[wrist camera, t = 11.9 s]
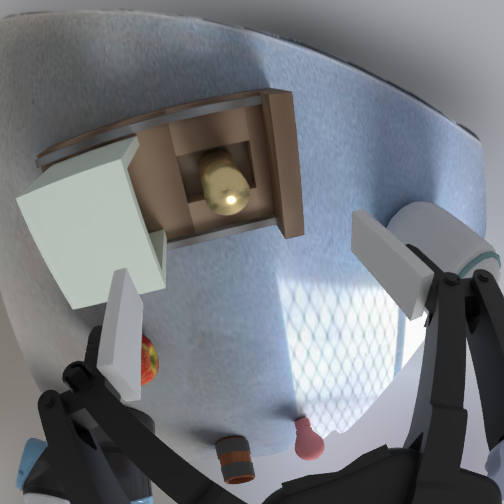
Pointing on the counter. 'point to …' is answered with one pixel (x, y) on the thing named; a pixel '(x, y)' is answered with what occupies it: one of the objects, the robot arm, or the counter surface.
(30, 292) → the counter surface
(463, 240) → the soap bottle
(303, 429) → the light bulb
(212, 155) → the brass peg
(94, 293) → the cover
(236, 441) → the mug
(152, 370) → the apple
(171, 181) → the housing base
